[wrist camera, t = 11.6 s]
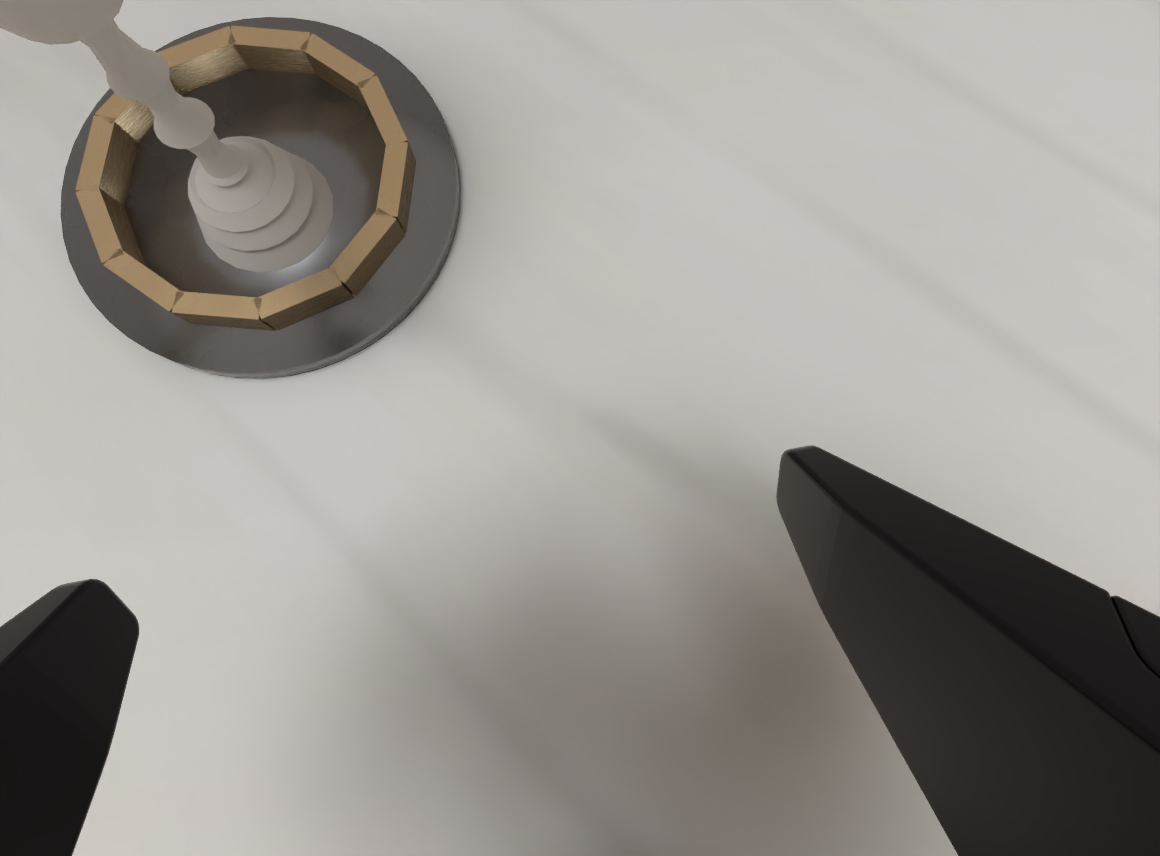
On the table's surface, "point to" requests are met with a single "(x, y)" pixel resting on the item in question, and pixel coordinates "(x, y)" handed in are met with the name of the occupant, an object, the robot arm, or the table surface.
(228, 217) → the chalice
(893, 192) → the table surface
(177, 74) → the collar
